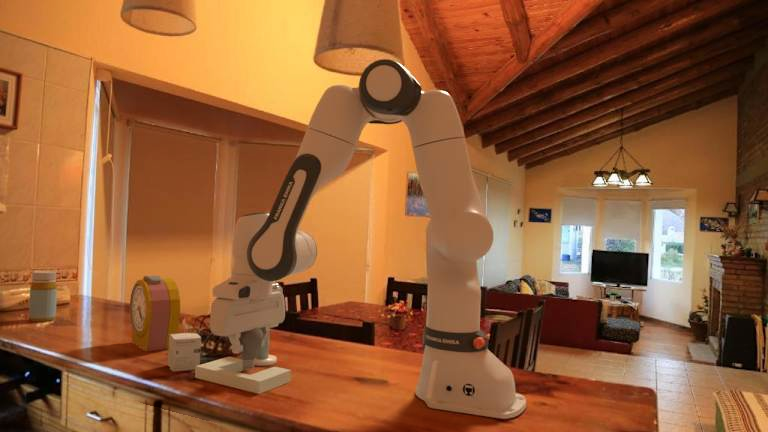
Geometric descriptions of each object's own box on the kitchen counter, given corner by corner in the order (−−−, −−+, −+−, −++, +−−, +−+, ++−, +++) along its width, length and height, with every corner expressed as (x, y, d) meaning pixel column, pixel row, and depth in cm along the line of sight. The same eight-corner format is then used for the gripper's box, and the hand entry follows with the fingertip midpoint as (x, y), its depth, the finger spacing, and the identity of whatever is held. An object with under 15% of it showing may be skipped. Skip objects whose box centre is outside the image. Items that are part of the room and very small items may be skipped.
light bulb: (263, 372, 114) (264, 325, 115) (234, 374, 113) (235, 326, 113) (261, 365, 120) (262, 321, 120) (233, 366, 118) (235, 321, 119)
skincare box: (171, 372, 118) (173, 339, 118) (167, 365, 123) (169, 333, 123) (200, 369, 121) (201, 337, 121) (194, 362, 127) (196, 331, 127)
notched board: (290, 381, 115) (291, 370, 115) (259, 393, 107) (259, 381, 107) (228, 367, 124) (229, 356, 124) (195, 377, 115) (195, 366, 115)
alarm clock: (127, 341, 144) (130, 273, 144) (158, 337, 149) (161, 272, 149) (145, 353, 132) (148, 279, 132) (178, 349, 138) (181, 278, 138)
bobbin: (282, 361, 131) (284, 320, 131) (263, 367, 125) (265, 325, 125) (260, 356, 134) (262, 317, 134) (240, 362, 128) (242, 321, 128)
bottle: (60, 320, 165) (62, 272, 165) (35, 323, 159) (38, 273, 159) (48, 317, 169) (50, 270, 169) (24, 320, 163) (26, 271, 163)
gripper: (271, 281, 127) (268, 339, 127) (206, 289, 109) (203, 356, 109) (292, 283, 124) (290, 343, 124) (229, 292, 106) (226, 361, 106)
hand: (248, 349), depth 117 cm, fingers closed on light bulb, 6 cm apart
